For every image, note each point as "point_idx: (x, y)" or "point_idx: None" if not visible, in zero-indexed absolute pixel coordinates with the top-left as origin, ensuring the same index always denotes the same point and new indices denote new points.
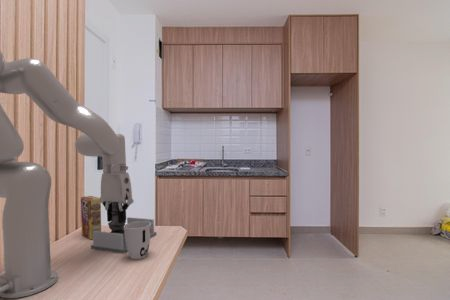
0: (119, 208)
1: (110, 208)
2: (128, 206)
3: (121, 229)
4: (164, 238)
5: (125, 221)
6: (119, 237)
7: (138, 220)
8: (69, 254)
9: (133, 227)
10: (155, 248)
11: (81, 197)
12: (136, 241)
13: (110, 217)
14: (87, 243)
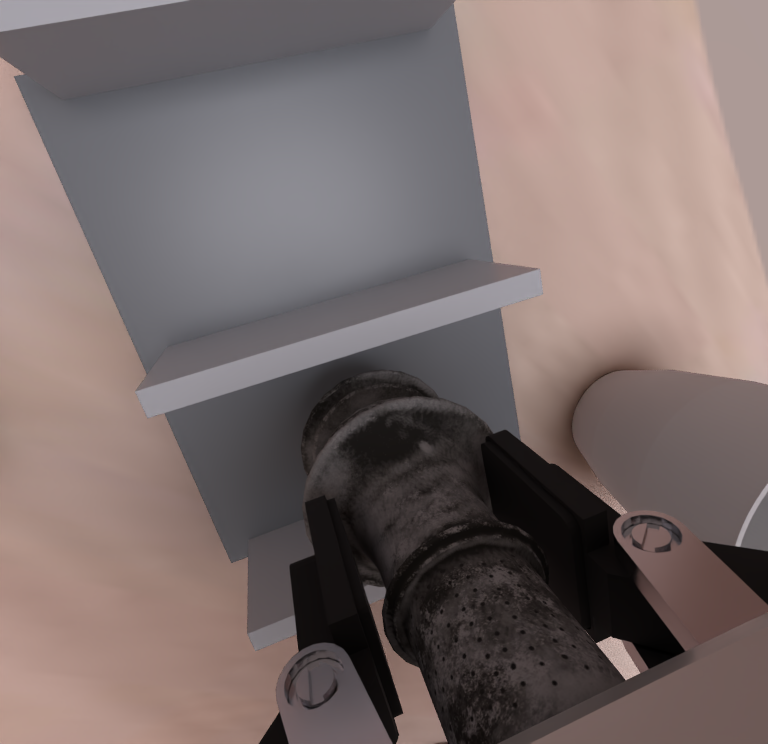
0: (645, 669)
1: (393, 721)
2: (759, 554)
3: (370, 394)
4: (574, 67)
5: (472, 416)
6: None
7: (237, 7)
8: (209, 667)
9: (704, 484)
10: (633, 278)
11: None
12: (755, 519)
13: (367, 600)
14: (70, 526)
